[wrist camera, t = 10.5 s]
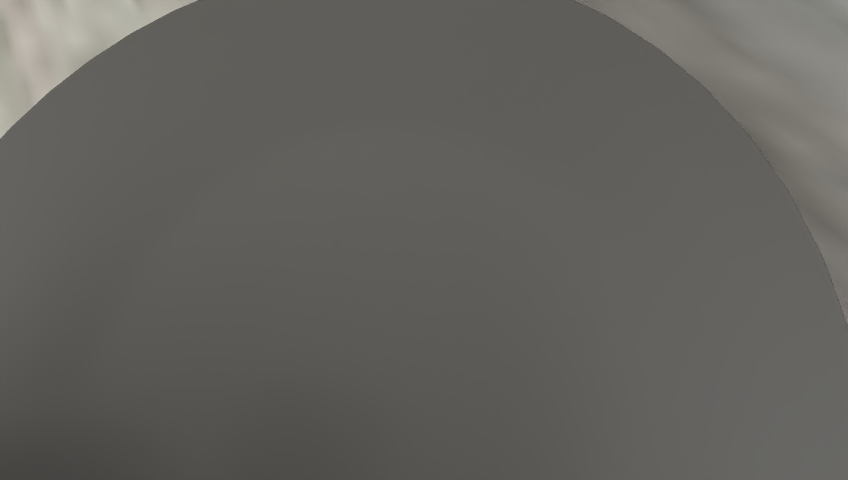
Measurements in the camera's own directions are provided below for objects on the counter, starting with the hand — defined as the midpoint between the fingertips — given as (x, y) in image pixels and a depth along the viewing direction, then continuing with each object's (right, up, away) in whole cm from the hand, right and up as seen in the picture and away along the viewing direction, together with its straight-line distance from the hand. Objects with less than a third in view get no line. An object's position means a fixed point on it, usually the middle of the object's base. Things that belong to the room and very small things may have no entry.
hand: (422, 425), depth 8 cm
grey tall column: (+2, -3, +7) cm, 8 cm away
